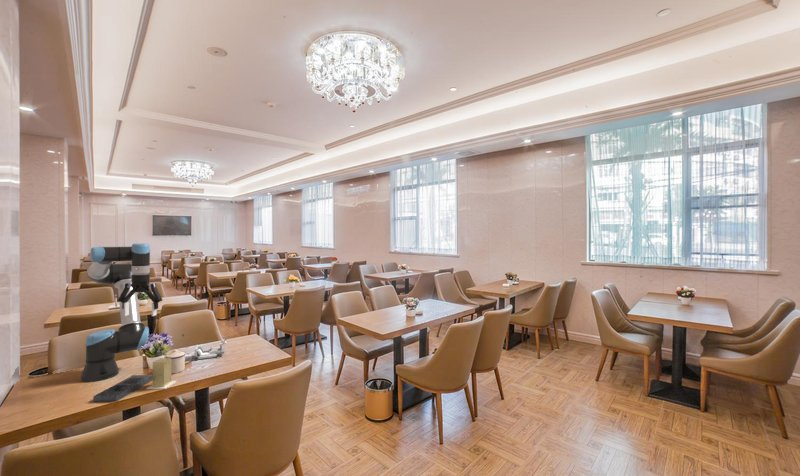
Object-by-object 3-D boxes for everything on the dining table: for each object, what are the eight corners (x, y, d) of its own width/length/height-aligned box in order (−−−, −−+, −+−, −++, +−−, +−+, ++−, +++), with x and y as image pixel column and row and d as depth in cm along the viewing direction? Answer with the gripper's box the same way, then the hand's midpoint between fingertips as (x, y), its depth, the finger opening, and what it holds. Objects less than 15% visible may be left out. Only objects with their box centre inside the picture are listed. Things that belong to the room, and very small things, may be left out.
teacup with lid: (184, 366, 198) (184, 346, 198) (185, 371, 191) (185, 350, 191) (158, 371, 191) (158, 350, 191) (159, 377, 184) (159, 354, 184)
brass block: (152, 386, 170) (152, 362, 170) (159, 382, 176) (159, 358, 176) (164, 386, 170) (164, 362, 170) (171, 382, 176) (171, 358, 176)
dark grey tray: (93, 401, 156) (93, 396, 156) (132, 380, 180) (132, 375, 180) (116, 401, 156) (116, 395, 156) (152, 379, 180) (152, 374, 180)
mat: (146, 389, 168) (146, 388, 168) (158, 381, 177) (158, 380, 177) (165, 389, 169) (165, 388, 169) (176, 381, 178) (176, 380, 178)
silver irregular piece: (227, 336, 226) (226, 341, 215) (227, 352, 226) (226, 357, 215) (194, 340, 218) (192, 345, 207) (194, 356, 218) (192, 361, 207)
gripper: (109, 274, 174) (109, 316, 175) (161, 275, 176) (161, 317, 176) (120, 272, 182) (120, 313, 182) (170, 273, 183) (170, 313, 184)
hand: (140, 315), depth 179 cm, fingers open, 13 cm apart
